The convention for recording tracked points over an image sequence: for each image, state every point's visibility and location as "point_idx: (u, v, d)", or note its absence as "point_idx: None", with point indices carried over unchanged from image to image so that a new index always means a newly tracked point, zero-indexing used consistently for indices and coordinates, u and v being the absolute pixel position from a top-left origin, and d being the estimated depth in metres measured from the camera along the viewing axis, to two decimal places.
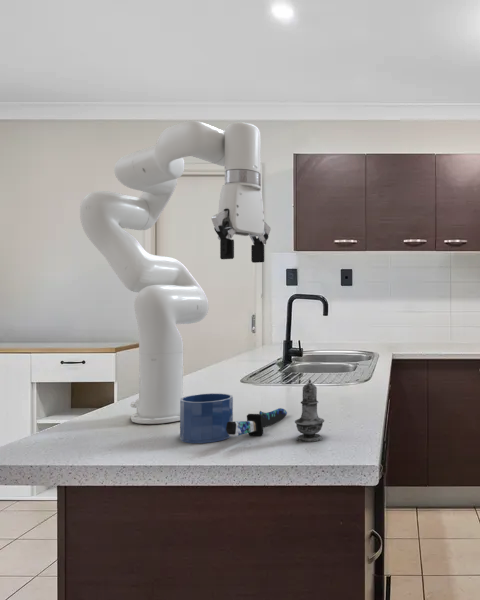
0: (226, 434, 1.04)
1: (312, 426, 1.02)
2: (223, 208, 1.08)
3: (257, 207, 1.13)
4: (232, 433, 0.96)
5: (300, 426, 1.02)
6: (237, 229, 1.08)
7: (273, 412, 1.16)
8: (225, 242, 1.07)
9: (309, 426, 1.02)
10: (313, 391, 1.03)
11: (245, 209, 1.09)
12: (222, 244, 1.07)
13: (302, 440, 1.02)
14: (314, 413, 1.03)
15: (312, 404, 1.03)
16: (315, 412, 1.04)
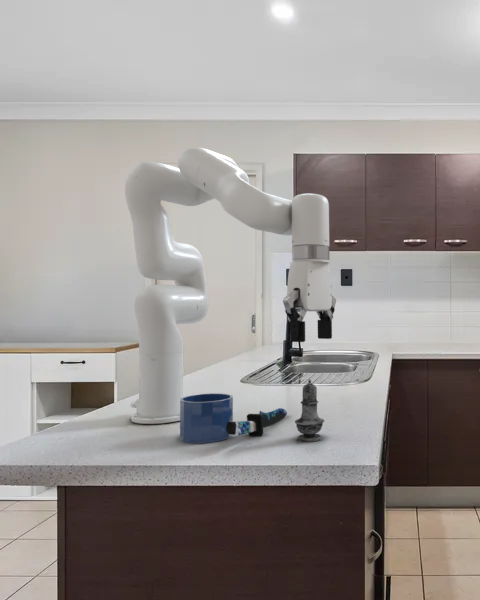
0: (226, 434, 1.04)
1: (312, 426, 1.02)
2: (293, 287, 1.01)
3: (326, 282, 1.06)
4: (232, 433, 0.96)
5: (300, 426, 1.02)
6: (308, 309, 1.01)
7: (273, 412, 1.16)
8: (296, 324, 0.99)
9: (309, 426, 1.02)
10: (313, 391, 1.03)
11: (315, 287, 1.02)
12: (292, 326, 1.00)
13: (302, 440, 1.02)
14: (314, 413, 1.03)
15: (312, 404, 1.03)
16: (315, 412, 1.04)
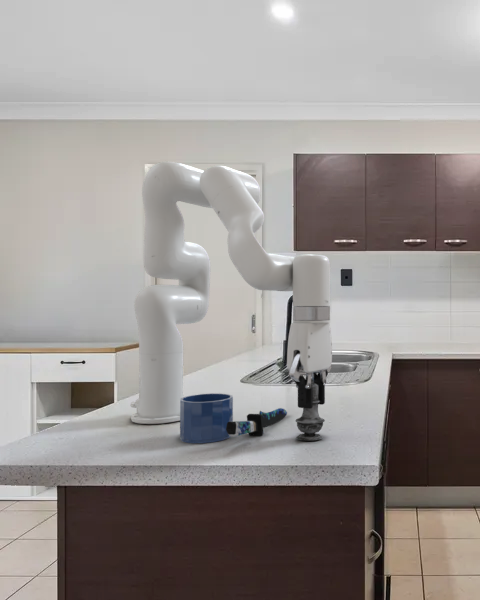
0: (226, 434, 1.04)
1: (313, 425, 1.02)
2: (293, 349, 1.01)
3: (326, 341, 1.05)
4: (232, 433, 0.96)
5: (301, 424, 1.02)
6: (308, 371, 1.01)
7: (273, 412, 1.16)
8: (304, 392, 1.02)
9: (309, 424, 1.02)
10: (314, 390, 1.04)
11: (316, 348, 1.02)
12: (300, 393, 1.02)
13: (302, 438, 1.02)
14: (315, 412, 1.04)
15: (314, 403, 1.03)
16: (316, 411, 1.04)
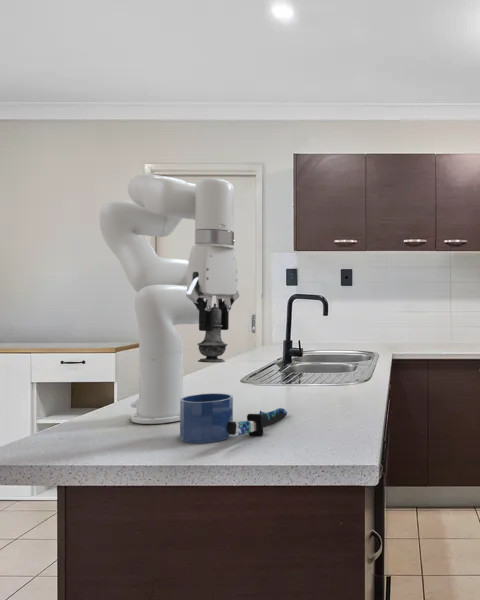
0: (226, 434, 1.04)
1: (213, 347, 1.03)
2: (192, 271, 1.01)
3: (230, 267, 1.06)
4: (232, 433, 0.96)
5: (201, 346, 1.03)
6: (207, 293, 1.02)
7: (273, 411, 1.16)
8: (204, 314, 1.03)
9: (209, 346, 1.03)
10: (216, 314, 1.05)
11: (216, 271, 1.03)
12: (200, 315, 1.03)
13: (202, 361, 1.03)
14: (216, 336, 1.05)
15: (215, 326, 1.04)
16: (218, 335, 1.05)
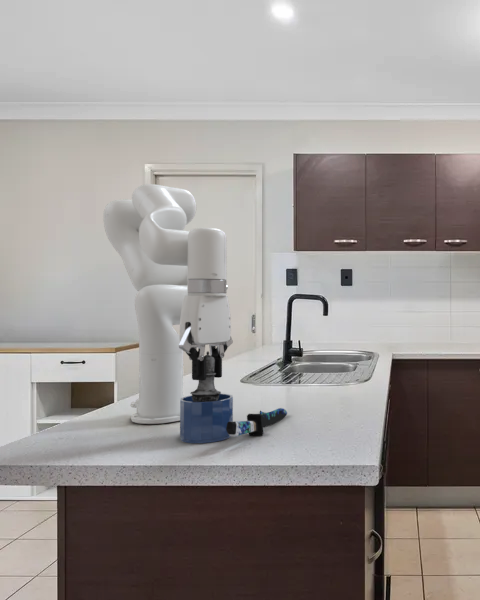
0: (226, 434, 1.04)
1: (206, 397, 1.03)
2: (184, 321, 1.01)
3: (222, 315, 1.06)
4: (232, 433, 0.96)
5: (194, 396, 1.03)
6: (199, 343, 1.02)
7: (273, 411, 1.16)
8: (197, 364, 1.03)
9: (202, 396, 1.03)
10: (209, 362, 1.05)
11: (208, 321, 1.03)
12: (193, 365, 1.03)
13: None
14: (210, 384, 1.05)
15: (208, 375, 1.04)
16: (211, 383, 1.05)
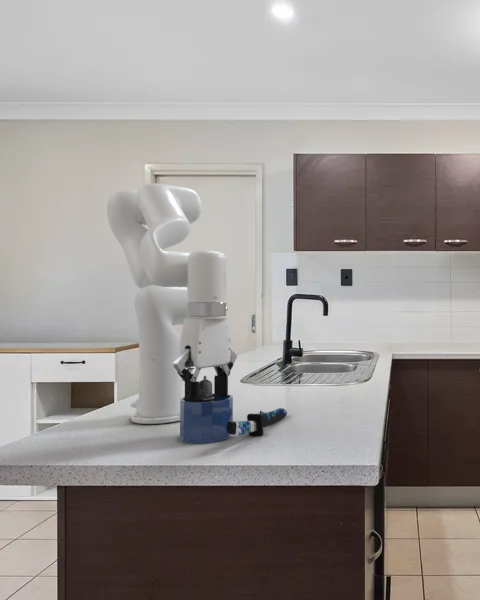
0: (226, 434, 1.04)
1: None
2: (184, 345, 1.01)
3: (222, 337, 1.06)
4: (232, 433, 0.96)
5: None
6: (199, 367, 1.02)
7: (273, 411, 1.16)
8: (189, 385, 1.01)
9: None
10: (207, 387, 1.04)
11: (208, 344, 1.03)
12: (186, 386, 1.01)
13: None
14: None
15: (206, 400, 1.04)
16: None
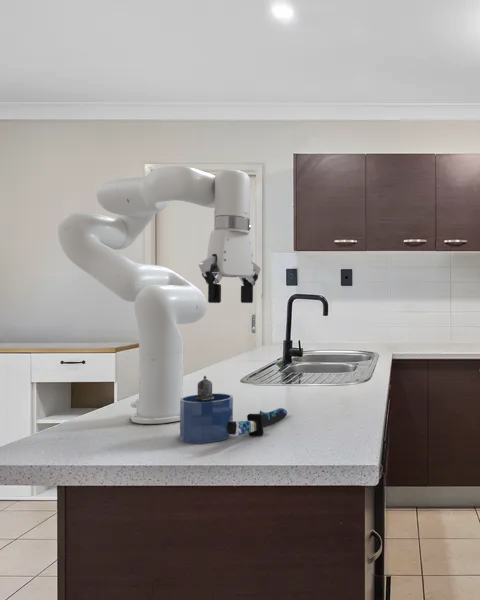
0: (226, 434, 1.04)
1: None
2: (211, 253, 1.12)
3: (245, 251, 1.16)
4: (232, 433, 0.96)
5: None
6: (224, 274, 1.12)
7: (273, 411, 1.16)
8: (212, 287, 1.10)
9: None
10: (207, 387, 1.04)
11: (233, 254, 1.13)
12: (209, 288, 1.11)
13: None
14: None
15: (206, 400, 1.04)
16: None
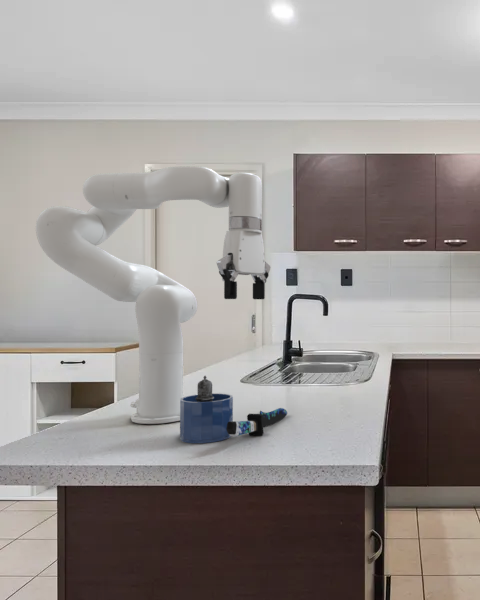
0: (226, 434, 1.04)
1: None
2: (227, 252, 1.18)
3: (258, 250, 1.23)
4: (232, 433, 0.96)
5: None
6: (240, 271, 1.18)
7: (273, 411, 1.16)
8: (229, 284, 1.16)
9: None
10: (207, 387, 1.04)
11: (247, 253, 1.19)
12: (225, 285, 1.17)
13: None
14: None
15: (206, 400, 1.04)
16: None
